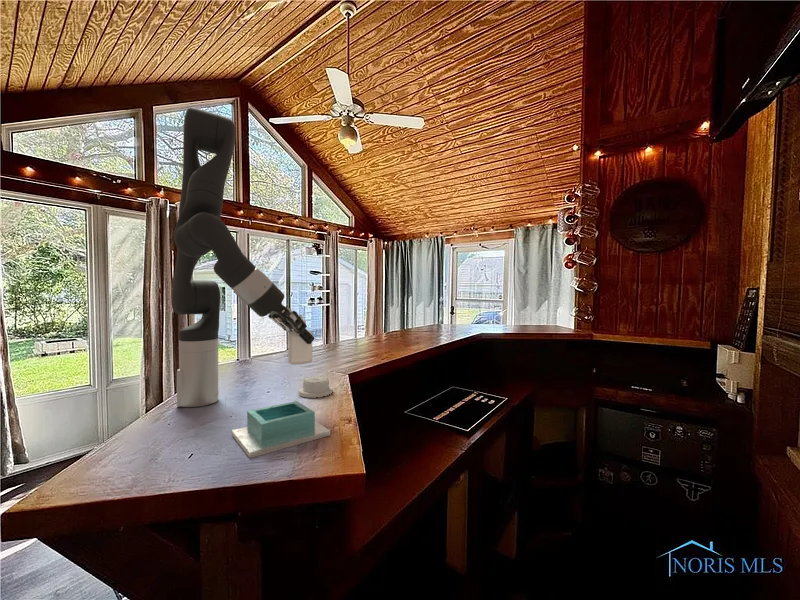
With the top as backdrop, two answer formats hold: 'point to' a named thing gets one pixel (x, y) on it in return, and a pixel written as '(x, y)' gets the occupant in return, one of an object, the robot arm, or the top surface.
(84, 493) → the top surface
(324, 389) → the mechanical component
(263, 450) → the tray
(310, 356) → the eye dropper bottle
